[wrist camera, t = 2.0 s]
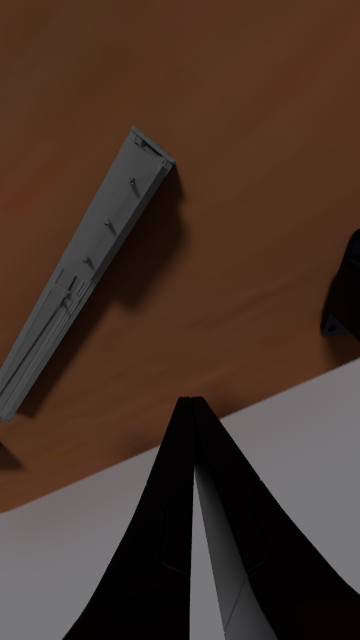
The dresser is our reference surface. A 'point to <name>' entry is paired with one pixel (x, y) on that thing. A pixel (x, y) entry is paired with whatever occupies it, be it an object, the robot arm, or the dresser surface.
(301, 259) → the dresser surface
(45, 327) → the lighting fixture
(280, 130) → the dresser surface
